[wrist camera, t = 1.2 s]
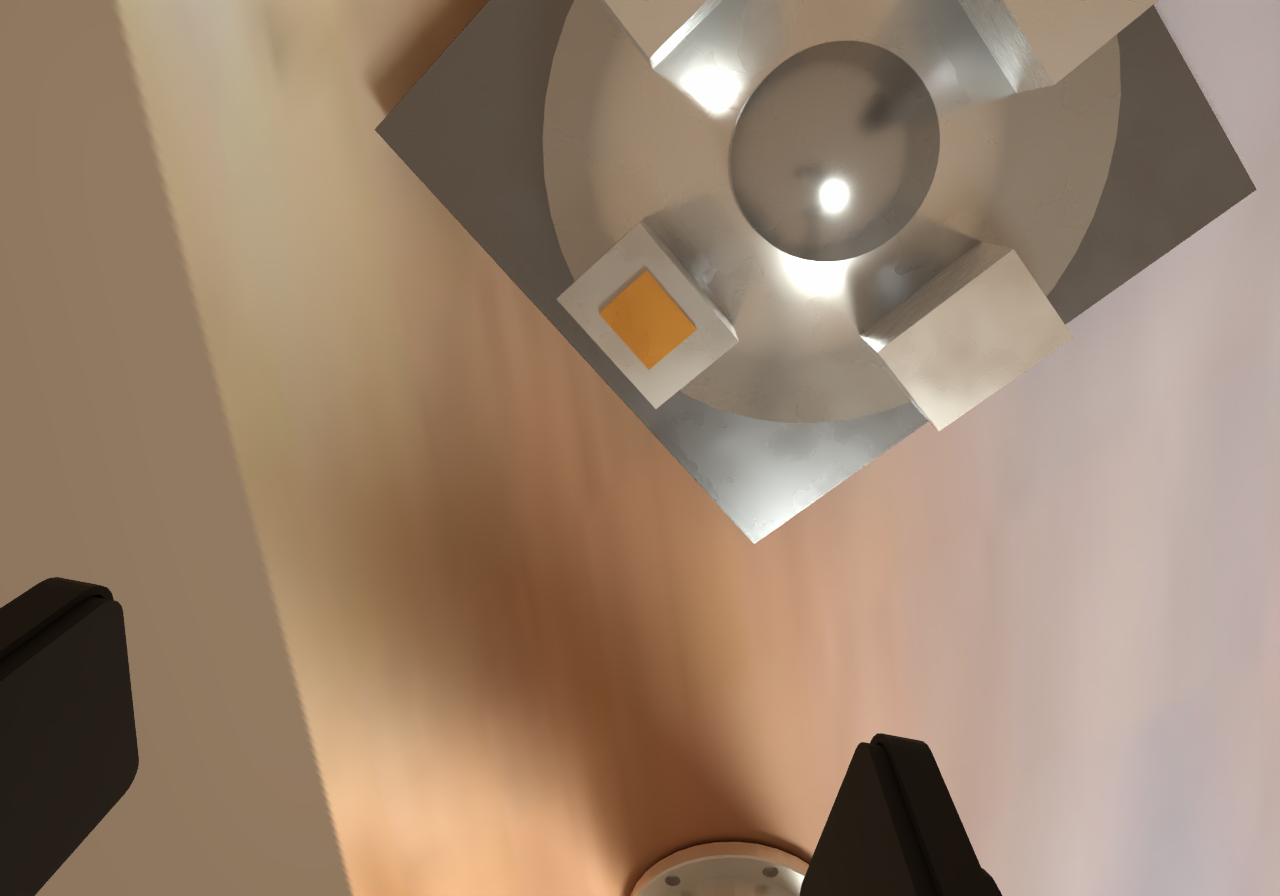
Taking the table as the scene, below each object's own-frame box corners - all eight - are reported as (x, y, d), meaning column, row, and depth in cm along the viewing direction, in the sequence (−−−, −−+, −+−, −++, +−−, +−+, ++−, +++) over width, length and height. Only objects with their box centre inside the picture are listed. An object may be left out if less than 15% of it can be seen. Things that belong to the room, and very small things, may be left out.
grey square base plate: (1215, 188, 26) (1260, 189, 24) (749, 522, 33) (754, 546, 31) (876, -402, 21) (896, -464, 19) (395, 132, 27) (372, 129, 25)
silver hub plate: (1177, 183, 24) (1294, 187, 20) (762, 487, 29) (778, 546, 25) (877, -324, 20) (936, -472, 15) (450, 134, 25) (398, 127, 20)
